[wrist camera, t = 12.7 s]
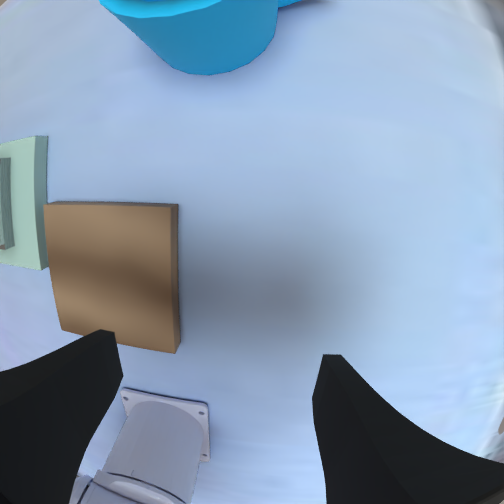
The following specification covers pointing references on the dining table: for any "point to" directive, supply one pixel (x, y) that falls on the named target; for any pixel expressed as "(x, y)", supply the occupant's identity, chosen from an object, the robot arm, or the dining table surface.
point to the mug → (201, 30)
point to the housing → (6, 205)
